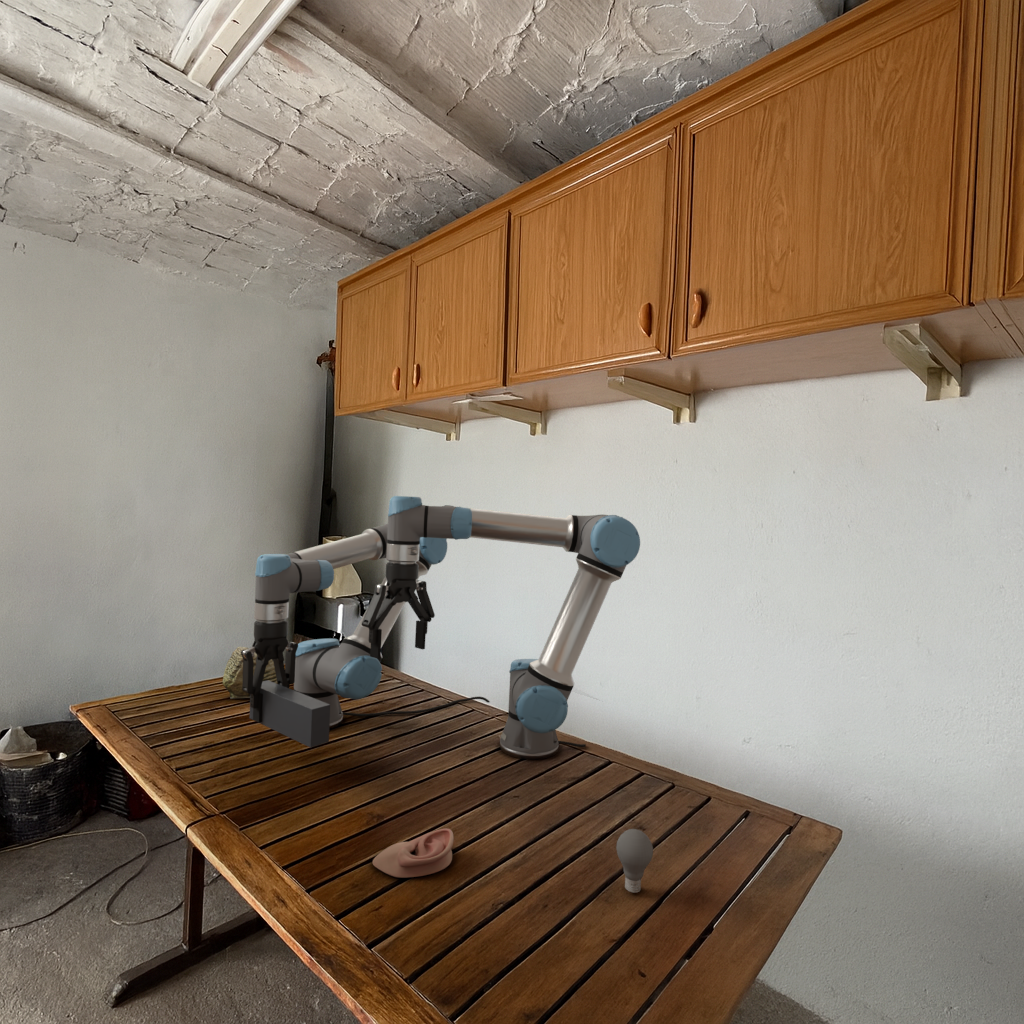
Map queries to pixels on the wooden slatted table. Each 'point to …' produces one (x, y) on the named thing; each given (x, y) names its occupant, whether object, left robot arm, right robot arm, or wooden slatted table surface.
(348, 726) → the wooden slatted table surface
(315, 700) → the bar
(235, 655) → the fossil
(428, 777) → the wooden slatted table surface
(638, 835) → the light bulb
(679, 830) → the wooden slatted table surface
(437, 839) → the anatomical model
